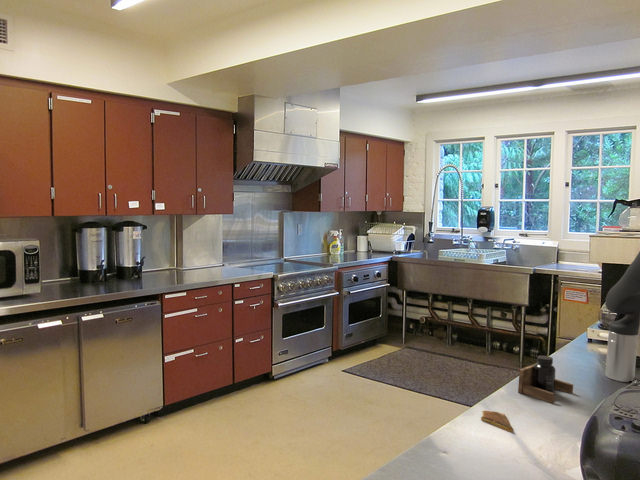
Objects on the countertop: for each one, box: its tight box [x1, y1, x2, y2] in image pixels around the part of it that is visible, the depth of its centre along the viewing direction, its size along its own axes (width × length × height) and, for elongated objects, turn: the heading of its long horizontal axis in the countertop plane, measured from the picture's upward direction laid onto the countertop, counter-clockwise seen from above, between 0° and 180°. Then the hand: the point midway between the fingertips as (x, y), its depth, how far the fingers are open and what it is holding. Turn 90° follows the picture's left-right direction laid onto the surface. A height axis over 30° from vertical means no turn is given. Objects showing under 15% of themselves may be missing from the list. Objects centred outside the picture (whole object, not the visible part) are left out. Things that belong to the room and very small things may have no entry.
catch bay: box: [517, 362, 574, 404], centre depth 169 cm, size 16×11×8 cm
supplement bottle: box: [533, 355, 556, 394], centre depth 169 cm, size 7×7×12 cm
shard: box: [480, 410, 515, 433], centre depth 145 cm, size 11×8×2 cm
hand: (614, 400), depth 153 cm, fingers closed
